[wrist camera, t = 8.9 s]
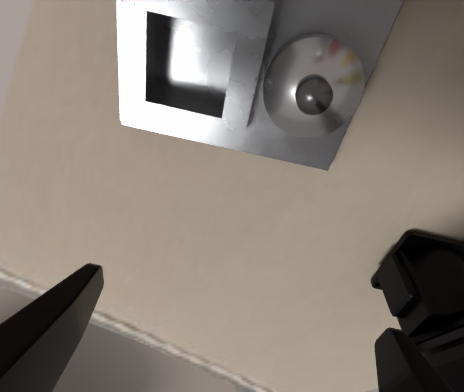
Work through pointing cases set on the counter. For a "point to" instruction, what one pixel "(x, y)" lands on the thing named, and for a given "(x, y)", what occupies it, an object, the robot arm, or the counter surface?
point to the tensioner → (250, 71)
